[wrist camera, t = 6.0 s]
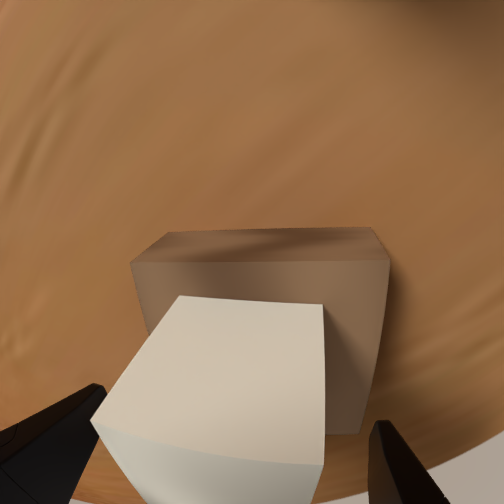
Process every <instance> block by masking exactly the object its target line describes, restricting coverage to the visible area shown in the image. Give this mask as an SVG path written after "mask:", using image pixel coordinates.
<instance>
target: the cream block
mask: <svg viewBox="0 0 504 504" xmlns="http://www.w3.org/2000/svg"><path fill="white" fill-rule="evenodd" d="M90 421H91V423H92V425H93V426H94V428H95V430H96V431H97V433H98V435H99V436H100V438H101V439H102V441H103V443H104V444H105V446H106V447H107V449H108V450H109V452H110V453H111V455H112V456H113V458H114V459H115V461H116V462H117V464H118V465H119V467H120V468H121V470H122V471H123V472H124V474H125V475H126V477H127V478H128V479H129V481H130V482H131V483H132V485H133V486H134V487H135V489H136V490H137V491H138V492H139V494H140V495H141V496H142V497H143V499H144V500H145V501H146V502H147V504H310V503H311V501H312V498H313V495H314V492H315V490H316V487H317V484H318V481H319V478H320V475H321V472H322V469H323V466H324V444H325V356H324V325H323V304H300V303H279V302H262V301H246V300H231V299H217V298H204V297H192V296H181V295H179V297H178V298H177V299H176V301H175V302H174V303H173V305H172V306H171V307H170V309H169V310H168V311H167V313H166V314H165V316H164V317H163V318H162V320H161V321H160V322H159V324H158V325H157V326H156V328H155V329H154V331H153V332H152V333H151V335H150V336H149V337H148V339H147V340H146V342H145V343H144V344H143V346H142V347H141V348H140V350H139V351H138V353H137V354H136V355H135V357H134V358H133V360H132V361H131V362H130V364H129V365H128V367H127V368H126V369H125V371H124V372H123V374H122V375H121V376H120V378H119V379H118V381H117V382H116V384H115V385H114V386H113V388H112V389H111V391H110V392H109V394H108V395H107V396H106V398H105V399H104V401H103V402H102V404H101V405H100V407H99V408H98V409H97V411H96V412H95V414H94V415H93V417H92V418H91V420H90Z"/></svg>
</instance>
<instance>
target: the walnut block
mask: <svg viewBox="0 0 504 504" xmlns="http://www.w3.org/2000/svg"><path fill="white" fill-rule="evenodd" d="M130 265H131V270H132V274H133V278H134V282H135V286H136V290H137V294H138V298H139V302H140V306H141V309H142V313H143V317H144V320H145V324H146V327H147V331H148V334H149V336H150V335H151V333H152V332H153V331H154V329H155V328H156V326H157V325H158V324H159V322H160V321H161V320H162V318H163V317H164V316H165V314H166V313H167V311H168V310H169V309H170V307H171V306H172V305H173V303H174V302H175V301H176V299H177V298H178V297H179V295H181V296H192V297H204V298H217V299H231V300H246V301H262V302H279V303H300V304H323V325H324V356H325V435H346V434H359V433H360V429H361V425H362V422H363V418H364V414H365V410H366V406H367V402H368V398H369V393H370V389H371V385H372V380H373V375H374V371H375V366H376V360H377V355H378V350H379V344H380V338H381V332H382V326H383V319H384V313H385V305H386V298H387V289H388V281H389V271H390V258H389V256H388V255H387V253H386V251H385V250H384V248H383V247H382V245H381V243H380V242H379V240H378V238H377V237H376V235H375V234H374V232H373V230H372V229H371V227H336V228H281V229H244V230H213V231H186V232H168V233H167V234H165V235H164V236H163V237H162V238H160V239H159V240H158V241H156V242H155V243H154V244H153V245H151V246H150V247H149V248H147V249H146V250H145V251H144V252H142V253H141V254H140V255H139V256H137V257H136V258H135V259H134V260H132V261H131V262H130Z"/></svg>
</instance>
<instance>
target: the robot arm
mask: <svg viewBox="0 0 504 504" xmlns="http://www.w3.org/2000/svg"><path fill="white" fill-rule="evenodd" d="M107 395H108V394H107V392H106V390H105V388H104V387H103V386H102V385H99V384H96V383H92V384H90V385H88V386H87V387H85V388H83V389H81V390H79V391H77V392H76V393H74V394H72V395H70V396H68V397H66V398H64V399H63V400H61V401H59V402H57V403H55V404H53V405H51V406H49V407H47V408H46V409H44V410H42V411H40V412H38V413H36V414H34V415H32V416H30V417H28V418H26V419H24V420H22V421H21V422H19V423H17V424H15V425H13V426H11V427H9V428H6V429H4V430H2V431H0V504H69V501H70V499H71V497H72V495H73V493H74V490H75V488H76V486H77V484H78V482H79V479H80V477H81V475H82V473H83V471H84V469H85V467H86V464H87V462H88V460H89V458H90V456H91V454H92V452H93V450H94V448H95V446H96V444H97V441H98V439H99V435H98V433H97V431H96V430H95V428H94V426H93V425H92V423H91V421H90V420H91V418H92V417H93V415H94V414H95V412H96V411H97V409H98V408H99V407H100V405H101V404H102V402H103V401H104V399H105V398H106V396H107ZM368 495H369V504H450V502H449V501H448V499H447V498H446V497H444V494H443V493H442V491H441V490H440V488H439V487H438V486H437V485H436V483H435V482H434V480H433V479H432V477H431V476H430V475H429V473H428V472H427V471H426V469H425V468H424V466H423V465H422V464H421V462H420V461H419V460H418V458H417V457H416V456H415V454H414V453H413V451H412V450H411V449H410V447H409V446H408V445H407V443H406V442H405V441H404V439H403V438H402V436H401V435H400V434H399V432H398V431H397V430H396V428H395V427H394V426H393V424H392V423H391V422H390V421H389V420H378V421H376V422H375V424H374V427H373V429H372V432H371V434H370V437H369V461H368Z"/></svg>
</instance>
